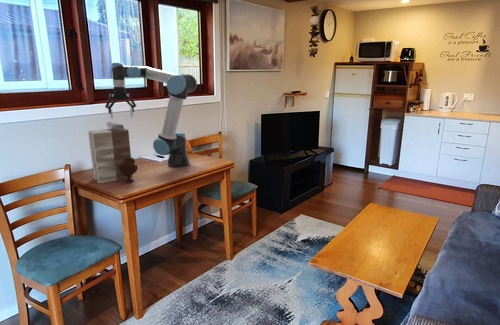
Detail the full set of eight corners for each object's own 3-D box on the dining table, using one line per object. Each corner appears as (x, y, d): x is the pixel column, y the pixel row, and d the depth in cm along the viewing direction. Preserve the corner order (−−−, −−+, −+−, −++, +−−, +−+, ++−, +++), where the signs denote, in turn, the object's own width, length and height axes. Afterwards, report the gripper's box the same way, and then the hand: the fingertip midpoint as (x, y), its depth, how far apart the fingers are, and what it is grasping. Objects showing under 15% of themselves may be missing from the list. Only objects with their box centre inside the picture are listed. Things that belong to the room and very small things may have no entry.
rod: (105, 127, 219) (105, 122, 218) (113, 126, 222) (113, 121, 221) (115, 131, 204) (114, 126, 203) (123, 130, 207) (123, 125, 206)
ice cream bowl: (122, 179, 211) (120, 155, 207) (140, 178, 212) (138, 155, 208) (117, 184, 201) (114, 160, 197) (136, 184, 202) (134, 159, 198)
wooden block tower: (94, 178, 213) (88, 130, 205) (126, 172, 225) (121, 127, 217) (99, 183, 204) (93, 133, 196) (132, 177, 216) (128, 129, 208)
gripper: (136, 85, 242) (138, 115, 247) (98, 86, 228) (101, 118, 233) (139, 86, 236) (141, 117, 241) (101, 86, 222) (104, 119, 227)
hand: (122, 117), depth 237 cm, fingers open, 13 cm apart
